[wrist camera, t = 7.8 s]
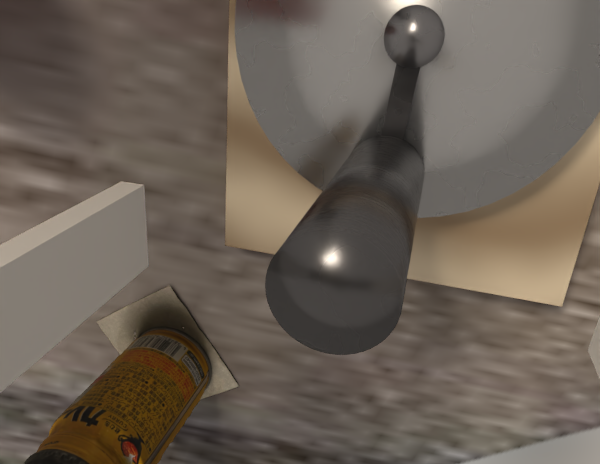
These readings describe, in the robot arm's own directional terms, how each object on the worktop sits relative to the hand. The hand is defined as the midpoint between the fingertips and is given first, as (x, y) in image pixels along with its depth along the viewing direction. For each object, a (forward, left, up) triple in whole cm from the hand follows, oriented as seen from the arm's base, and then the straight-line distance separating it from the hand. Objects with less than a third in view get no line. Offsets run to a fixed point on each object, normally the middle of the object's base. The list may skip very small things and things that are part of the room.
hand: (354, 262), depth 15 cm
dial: (-6, 0, -12) cm, 13 cm away
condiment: (+16, -14, -15) cm, 26 cm away
